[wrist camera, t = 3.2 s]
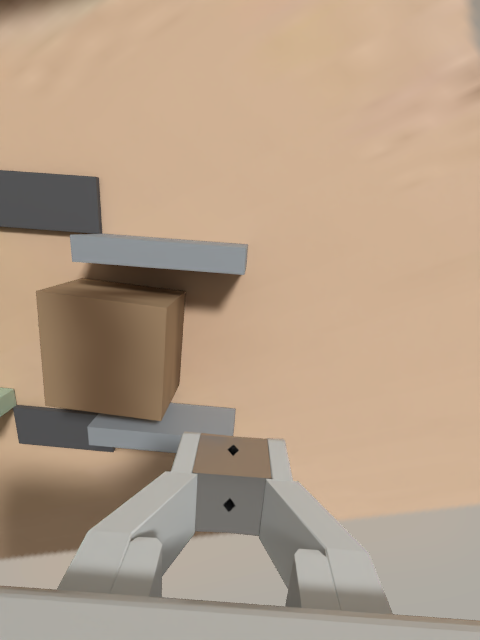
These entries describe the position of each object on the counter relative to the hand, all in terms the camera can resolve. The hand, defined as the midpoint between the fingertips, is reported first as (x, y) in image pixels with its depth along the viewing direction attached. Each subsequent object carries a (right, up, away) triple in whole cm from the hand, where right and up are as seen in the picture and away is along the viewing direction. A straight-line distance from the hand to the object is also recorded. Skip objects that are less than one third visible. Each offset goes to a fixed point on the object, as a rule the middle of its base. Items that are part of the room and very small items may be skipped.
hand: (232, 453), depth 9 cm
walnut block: (-6, +3, +9) cm, 12 cm away
